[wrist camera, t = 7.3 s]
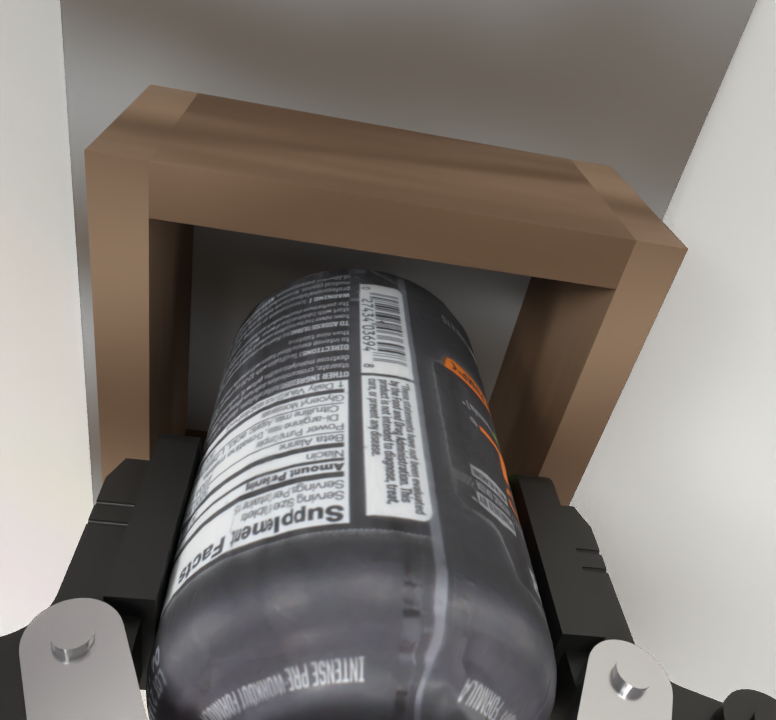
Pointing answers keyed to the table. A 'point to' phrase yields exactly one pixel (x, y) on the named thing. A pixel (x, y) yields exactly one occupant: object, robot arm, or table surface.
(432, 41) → the well
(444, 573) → the pill bottle
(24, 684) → the robot arm
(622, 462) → the table surface
